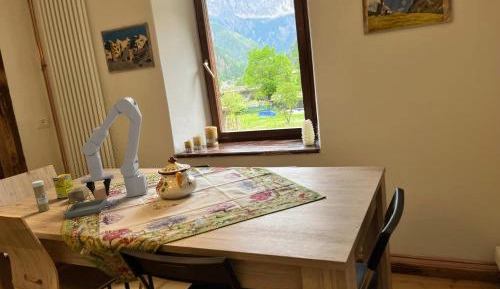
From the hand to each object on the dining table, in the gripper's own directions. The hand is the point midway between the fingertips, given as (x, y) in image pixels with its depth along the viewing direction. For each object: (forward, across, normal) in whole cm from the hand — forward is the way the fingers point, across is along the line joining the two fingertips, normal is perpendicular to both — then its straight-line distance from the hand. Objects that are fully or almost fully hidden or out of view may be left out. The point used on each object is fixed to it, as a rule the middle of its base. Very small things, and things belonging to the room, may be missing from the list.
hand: (101, 196), depth 176 cm
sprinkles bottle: (+2, +25, +2) cm, 25 cm away
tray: (+1, +3, +14) cm, 14 cm away
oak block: (+2, +12, -7) cm, 14 cm away
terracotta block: (+1, 0, 0) cm, 1 cm away
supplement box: (+2, +21, -15) cm, 26 cm away
